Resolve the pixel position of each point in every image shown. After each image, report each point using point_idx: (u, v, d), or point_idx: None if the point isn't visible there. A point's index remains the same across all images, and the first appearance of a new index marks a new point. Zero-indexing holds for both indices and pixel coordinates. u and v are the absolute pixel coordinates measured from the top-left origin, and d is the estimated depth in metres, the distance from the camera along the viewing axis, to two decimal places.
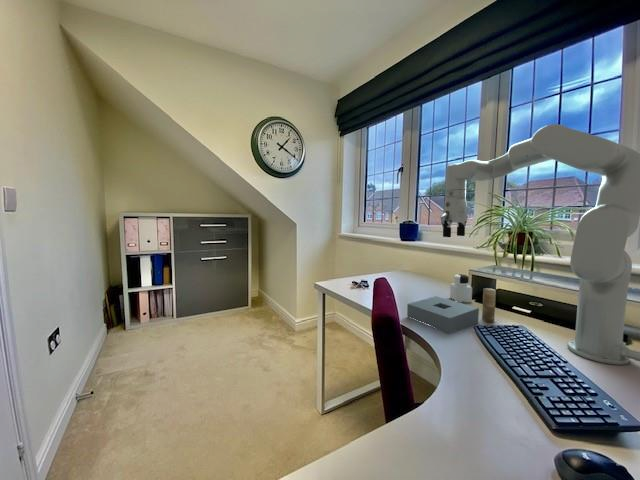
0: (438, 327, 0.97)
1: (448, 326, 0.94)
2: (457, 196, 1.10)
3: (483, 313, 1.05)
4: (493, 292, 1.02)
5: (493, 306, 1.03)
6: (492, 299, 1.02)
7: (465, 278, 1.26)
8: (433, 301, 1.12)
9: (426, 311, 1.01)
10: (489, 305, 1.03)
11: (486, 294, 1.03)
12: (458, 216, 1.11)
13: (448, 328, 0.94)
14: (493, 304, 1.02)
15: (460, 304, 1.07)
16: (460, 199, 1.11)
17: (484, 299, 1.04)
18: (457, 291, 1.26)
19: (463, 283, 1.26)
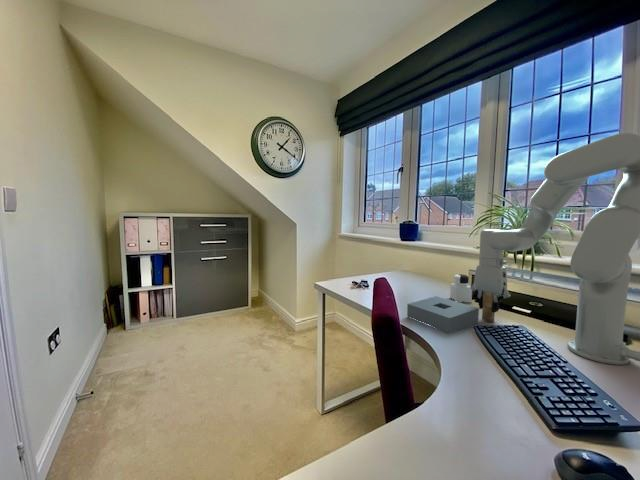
0: (438, 327, 0.97)
1: (448, 326, 0.94)
2: None
3: (483, 313, 1.05)
4: None
5: None
6: (492, 299, 1.02)
7: (465, 278, 1.26)
8: (433, 301, 1.12)
9: (426, 311, 1.01)
10: (489, 305, 1.03)
11: (485, 294, 1.03)
12: None
13: (448, 328, 0.94)
14: None
15: (460, 304, 1.07)
16: None
17: (484, 299, 1.04)
18: (457, 291, 1.26)
19: (463, 283, 1.26)
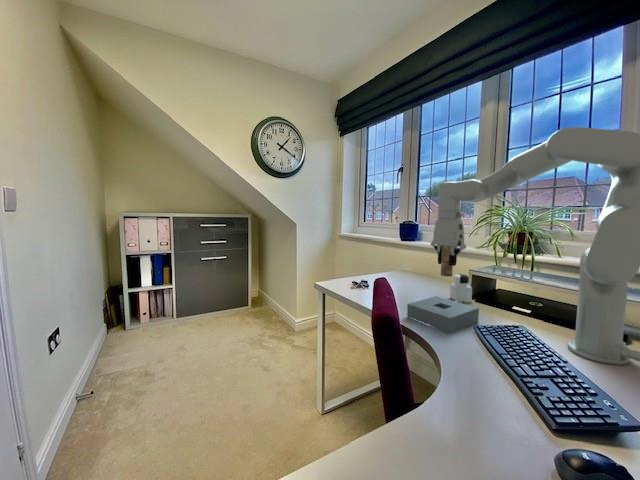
0: (438, 327, 0.97)
1: (448, 326, 0.94)
2: None
3: (441, 268, 1.04)
4: None
5: None
6: (449, 253, 1.02)
7: (465, 278, 1.26)
8: (433, 301, 1.12)
9: (426, 311, 1.01)
10: (446, 259, 1.02)
11: (443, 248, 1.03)
12: None
13: (448, 328, 0.94)
14: None
15: (460, 304, 1.07)
16: None
17: (442, 253, 1.03)
18: (457, 291, 1.26)
19: (463, 283, 1.26)
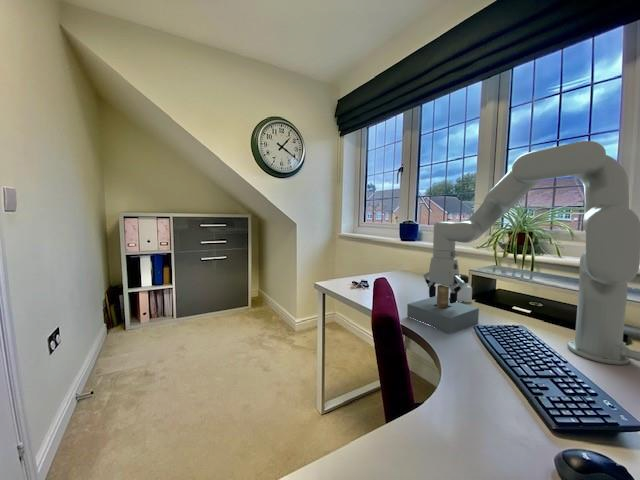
0: (438, 327, 0.97)
1: (448, 326, 0.94)
2: None
3: None
4: (446, 289, 1.03)
5: (446, 303, 1.03)
6: (445, 296, 1.03)
7: (465, 278, 1.26)
8: (433, 301, 1.12)
9: (426, 311, 1.01)
10: (442, 301, 1.03)
11: (439, 291, 1.04)
12: None
13: (448, 328, 0.94)
14: (446, 301, 1.03)
15: (460, 304, 1.07)
16: None
17: (438, 296, 1.05)
18: None
19: None
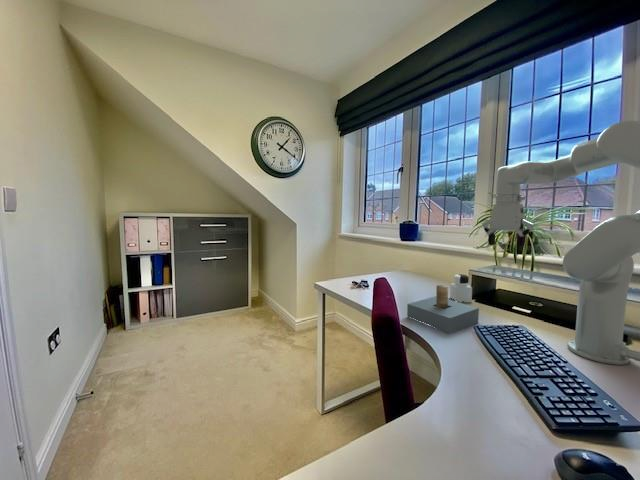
0: (438, 327, 0.97)
1: (448, 326, 0.94)
2: None
3: None
4: (445, 289, 1.03)
5: (445, 303, 1.03)
6: (444, 296, 1.03)
7: (465, 278, 1.26)
8: (433, 301, 1.12)
9: (426, 311, 1.01)
10: (441, 301, 1.04)
11: (438, 291, 1.04)
12: None
13: (448, 328, 0.94)
14: (445, 301, 1.03)
15: (460, 304, 1.07)
16: None
17: (437, 296, 1.05)
18: (457, 291, 1.26)
19: (463, 283, 1.26)
